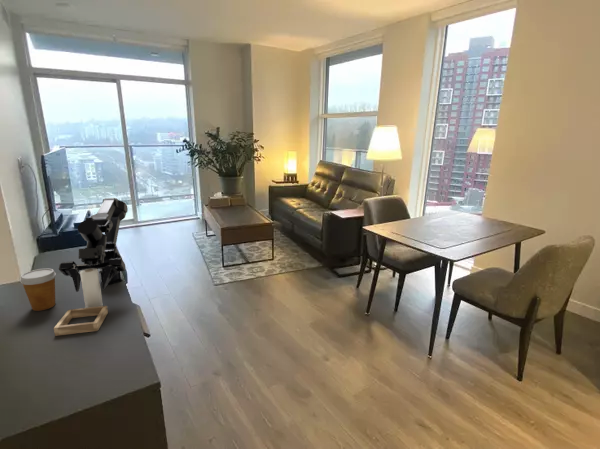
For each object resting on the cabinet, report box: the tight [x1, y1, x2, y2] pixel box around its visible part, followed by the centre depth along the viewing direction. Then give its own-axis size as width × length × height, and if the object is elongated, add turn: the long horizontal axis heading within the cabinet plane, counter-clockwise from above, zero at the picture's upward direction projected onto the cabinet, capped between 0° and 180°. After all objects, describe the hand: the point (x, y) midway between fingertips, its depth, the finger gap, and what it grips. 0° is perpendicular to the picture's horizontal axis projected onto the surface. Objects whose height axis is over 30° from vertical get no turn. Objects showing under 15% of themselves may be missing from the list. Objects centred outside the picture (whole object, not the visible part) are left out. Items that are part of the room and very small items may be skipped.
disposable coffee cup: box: [19, 268, 57, 312], centre depth 111 cm, size 10×10×12 cm
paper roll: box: [79, 268, 104, 308], centre depth 111 cm, size 5×5×13 cm
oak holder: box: [53, 305, 109, 337], centre depth 102 cm, size 11×11×2 cm
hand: (90, 290), depth 110 cm, fingers open, 7 cm apart
